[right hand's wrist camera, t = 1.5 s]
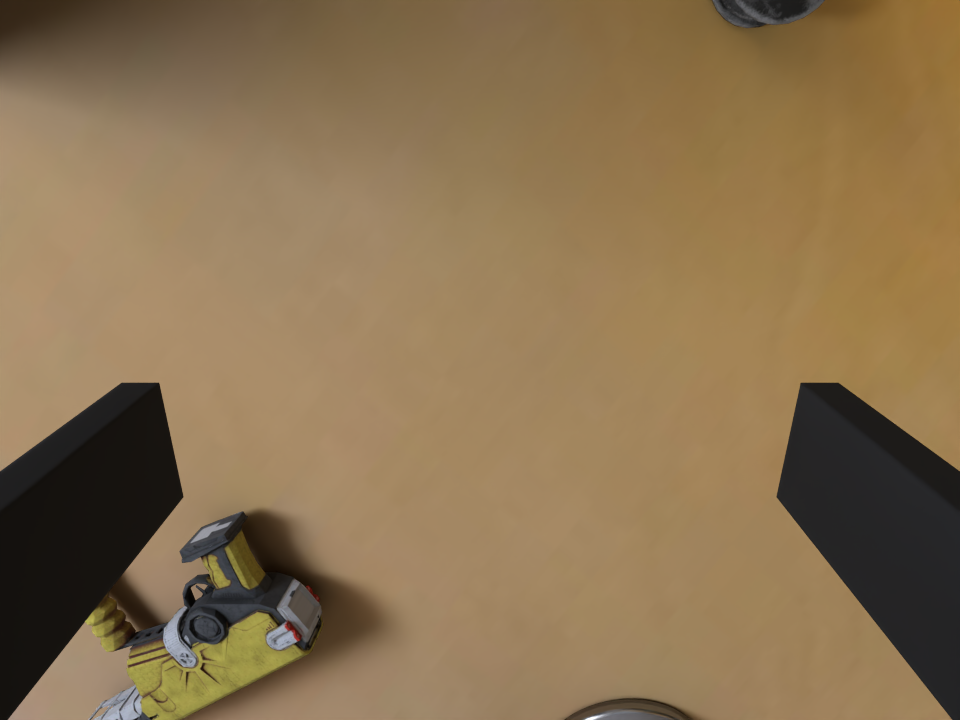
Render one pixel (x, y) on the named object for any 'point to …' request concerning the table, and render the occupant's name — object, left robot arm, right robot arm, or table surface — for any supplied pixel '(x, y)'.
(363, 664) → the table surface
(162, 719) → the toy gun
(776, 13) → the dark grey turned figure
